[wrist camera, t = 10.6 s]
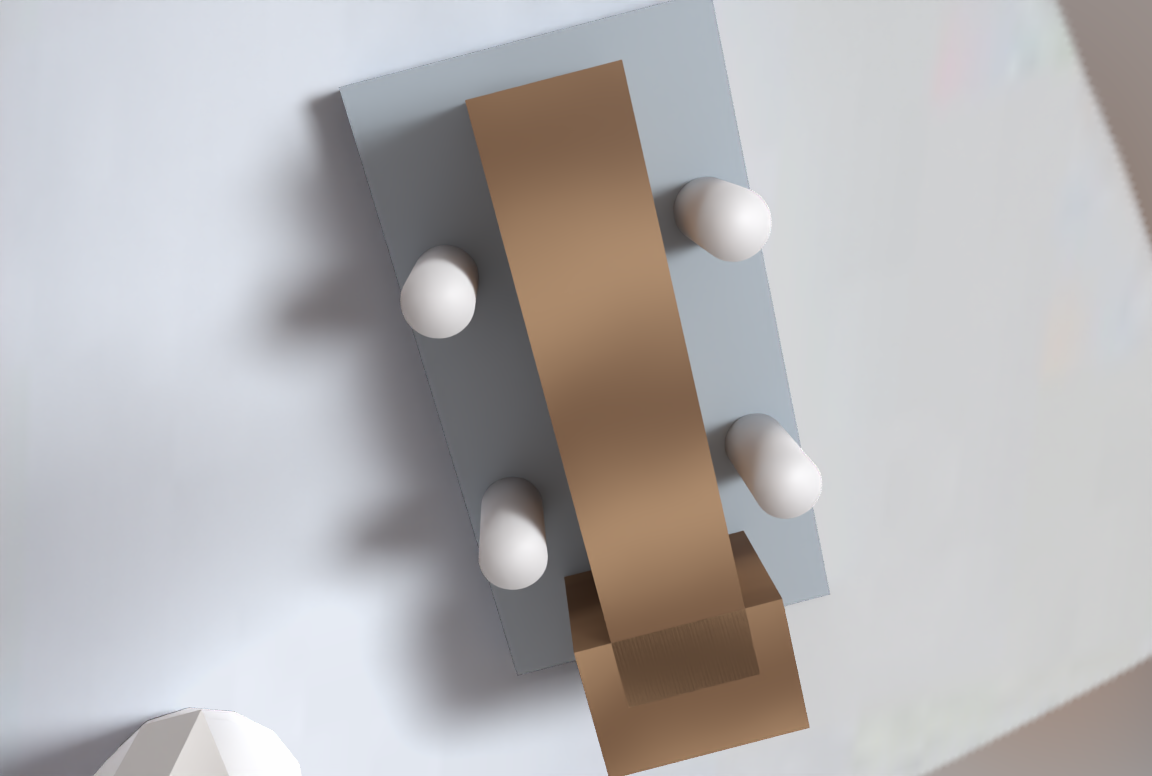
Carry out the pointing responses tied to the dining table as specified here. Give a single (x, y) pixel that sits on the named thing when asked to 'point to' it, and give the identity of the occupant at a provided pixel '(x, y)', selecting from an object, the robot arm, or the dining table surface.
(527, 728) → the dining table surface
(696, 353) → the rack
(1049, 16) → the dining table surface
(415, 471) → the dining table surface
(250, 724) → the foam cup
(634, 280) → the wooden toy mallet
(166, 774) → the robot arm
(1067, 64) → the dining table surface
